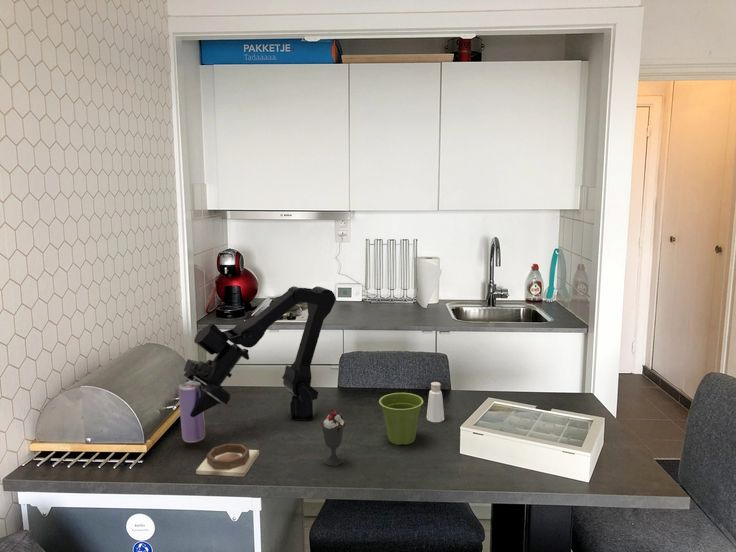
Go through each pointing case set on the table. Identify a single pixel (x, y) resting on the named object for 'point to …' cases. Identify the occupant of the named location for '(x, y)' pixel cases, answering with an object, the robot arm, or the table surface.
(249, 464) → the board
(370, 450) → the table surface
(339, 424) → the sundae
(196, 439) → the beverage can
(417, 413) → the plant pot
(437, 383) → the salt shaker
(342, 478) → the table surface
